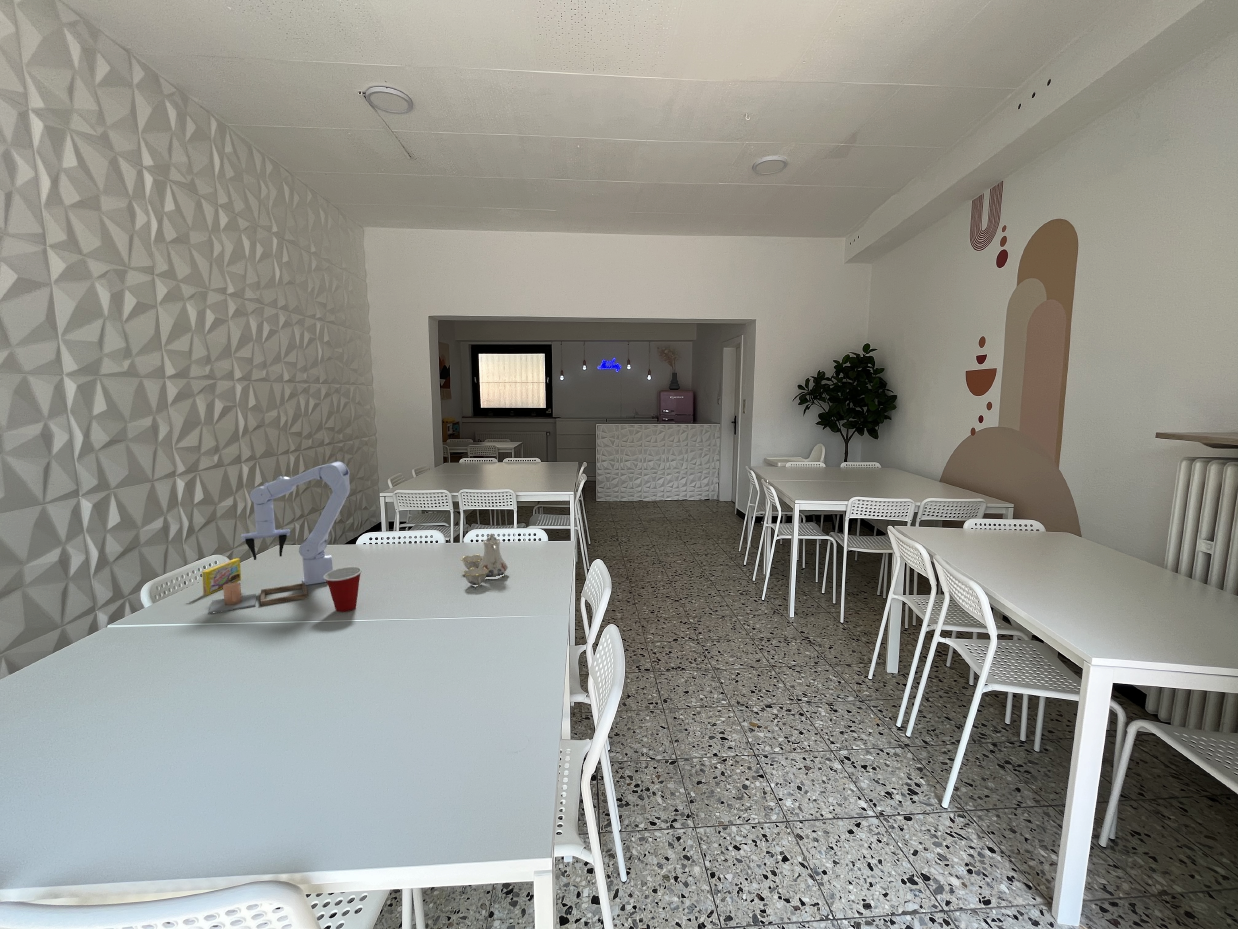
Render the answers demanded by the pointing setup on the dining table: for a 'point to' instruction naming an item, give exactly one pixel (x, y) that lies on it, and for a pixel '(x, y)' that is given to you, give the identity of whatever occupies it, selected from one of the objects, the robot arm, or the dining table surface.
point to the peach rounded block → (232, 593)
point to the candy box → (221, 576)
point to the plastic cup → (344, 587)
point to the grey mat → (220, 605)
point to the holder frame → (285, 598)
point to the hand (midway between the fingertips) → (268, 557)
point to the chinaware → (485, 562)
